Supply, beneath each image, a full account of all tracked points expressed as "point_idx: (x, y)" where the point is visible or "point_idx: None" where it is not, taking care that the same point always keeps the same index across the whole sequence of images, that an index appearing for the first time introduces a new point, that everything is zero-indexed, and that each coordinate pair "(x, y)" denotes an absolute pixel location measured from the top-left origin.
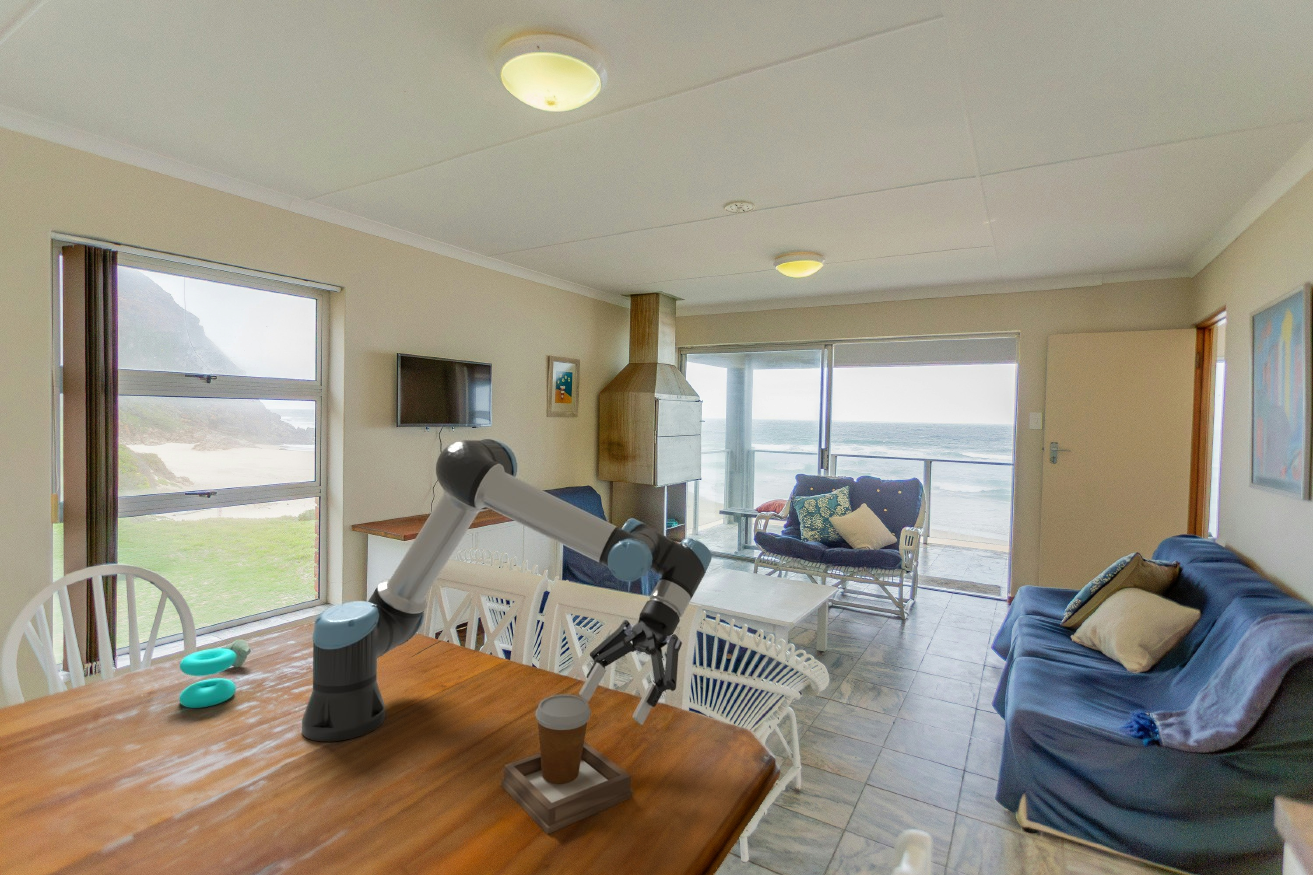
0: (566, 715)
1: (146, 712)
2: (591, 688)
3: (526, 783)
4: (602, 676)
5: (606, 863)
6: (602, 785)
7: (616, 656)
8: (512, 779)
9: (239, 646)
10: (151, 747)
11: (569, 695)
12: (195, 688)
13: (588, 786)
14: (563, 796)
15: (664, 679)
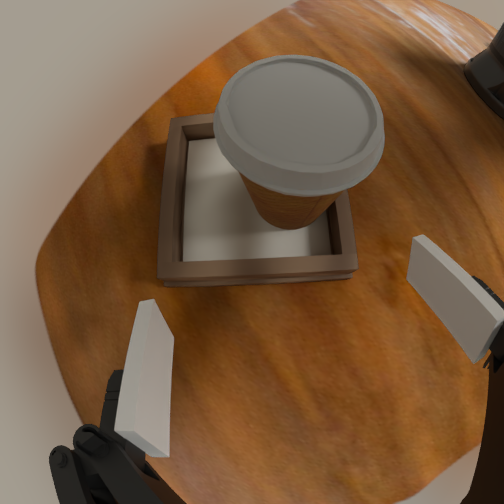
0: (246, 94)
1: None
2: (430, 285)
3: None
4: (459, 342)
5: (89, 177)
6: (165, 212)
7: (494, 417)
8: None
9: None
10: (459, 26)
11: (367, 147)
12: None
13: (220, 219)
14: (220, 171)
15: (74, 464)
